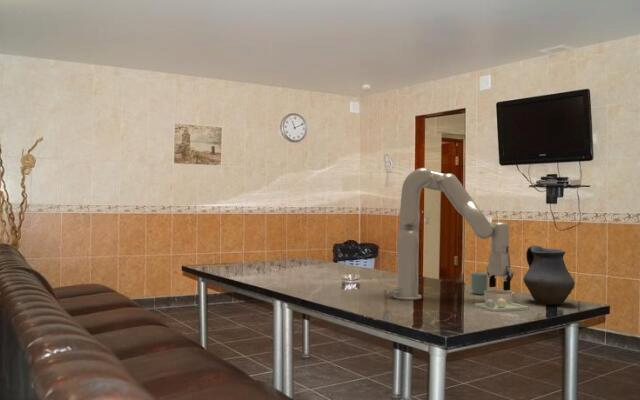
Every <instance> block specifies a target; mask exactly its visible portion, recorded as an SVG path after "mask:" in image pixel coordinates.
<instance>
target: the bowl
mask: <svg viewBox="0 0 640 400" xmlns="http://www.w3.org/2000/svg"><path fill="white" fill-rule="evenodd" d="M497 292H502V293H503V294H496V293H497ZM515 294H516V293H515V292H513V291H511V290H507V291H504V290H503V289H487V290H486V291H484V294H483V301H484V303H485V302H486V300H488V299H493V300H494V301H495V302H497V300H498V299H499V298H503V299H505V300H506V302H512V303H515V297H516V295H515Z"/></svg>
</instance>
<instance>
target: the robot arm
mask: <svg viewBox="0 0 640 400" xmlns="http://www.w3.org/2000/svg"><path fill="white" fill-rule="evenodd" d="M423 188H424V189H429V190H433V191H439V192H443V193H444V195H445V196H446V198H447V199H448V200H449V202H450V203H451V205H452V206H453V207H454V209H455V210H456V211H457V212H458V213H459V214H460V215H461V216H462V217H463V218H464V219H465V221H466V222H467V223H468V224H469V226H470V228H471V229H472V232H473V234H474V235H475V237H476V238H478V239H481V240H482V239H483V240H486V239H489V238H490V239H491V240H490V252H489V256H488V257H489V258H488V266H487V267H486V273H487V274H488V287H489V288H496V286H497V278H496V277H502V278H503V281H502V284H503V288H502V290H504V291H511V282H512V280H513V277H514V275H515V272H514V271H513V270H512V269H511V258H510V225H509V223H508V222H503V221H502V222H501V221H499V222H498V221H495V222H490V221H489V220H488V219H487V217H486V216H485V215H484V213H483V211H482V210H481V209H480V208H479V207H478V205H477V204H476V202H475V201H474V199H473V198H472V196H471V195H470V194H469V193H468V191H467V190H466V189H465V187H464V186H463V184H462V183H461V181H460V180H459V179H458V178H457V176H456V175H455V174H453V173H451V172H450V173H442V172H438V171H433V170H430V169H429V168H427V167H420V168H416V169H415V170H413V171H411V172H410V173H409V174H408V175H407V176H406V178H405V179H404V181H403V183H402V187H401V195H400V197H401V198H400V207H399V208H400V209H399V215H398V217H399V220H398V235H397V239H396V240H397V243H396V245H397V246H396V247H397V255H396V257H397V258H396V259H397V264H396V265H397V268H396V269H397V271H396V274H397V275H396V277H397V278H396V279H397V281H396V286H395V287H394V288H393V289H387V291H386V293H387V294H388V295H393V298H394V299H397V300H398V299H399V300H406V301H407V300H408V301H415V300H420V299H421V300H422V297H423V296H422V295H421V294H419V252H420V251H419V247H420V245H419V244H420V219H421V218H420V217H421V215H420V214H421V213H420V204H421V203H420V202H421V201H420V200H421V192H422V189H423Z"/></svg>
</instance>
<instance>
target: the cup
mask: <svg viewBox="0 0 640 400" xmlns="http://www.w3.org/2000/svg"><path fill="white" fill-rule="evenodd" d="M470 287H471V288H470V289H471V291H472V293H473V294H475V295H481V296H482V295H483V296H484V291H486V290H488V287H489V277H488V274H487V272H478V271H474V272H471V273H470Z"/></svg>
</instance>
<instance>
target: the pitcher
mask: <svg viewBox="0 0 640 400" xmlns="http://www.w3.org/2000/svg"><path fill="white" fill-rule="evenodd" d="M525 252H526V253H525V255H526V256H525V257H526V258H525V259H526V262H527V265H528V270H527V271H526V273H525V275H524V276H523V278H522V279H523V282H524V283H523V284H524V285H525V287H526V289H528V291H529V293H530V295H531V297H532V299H533V301H534V302H535V303H537V304H540V305H545V306H546V305H547V306H559V305H562V304H564V303H565V301H566V300H567V298H568V297H569V295H570V294H571V293H572V291H573V290H574V288H575V285H576V283H575V280H574V278H573V277H572V276H571V273H570V272H569V270H568V269H567V266H566V263H565V259H564V256H565V254H566V251H565V250H562V249H558V248H556V249H554V248H544V247H542V246H539V245H535V244H534V245H531V246H529V247H527V249H526V251H525Z"/></svg>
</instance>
